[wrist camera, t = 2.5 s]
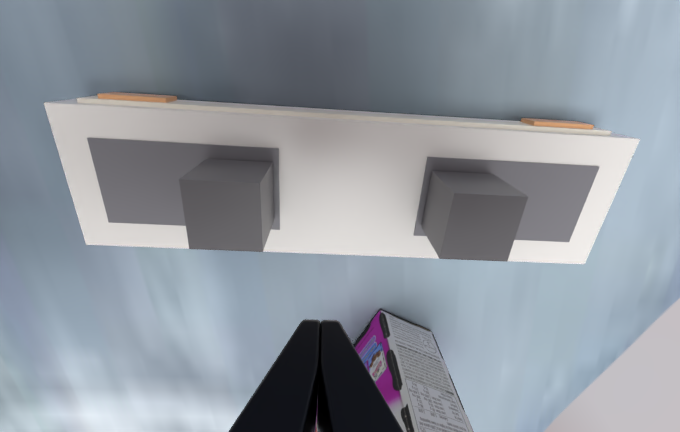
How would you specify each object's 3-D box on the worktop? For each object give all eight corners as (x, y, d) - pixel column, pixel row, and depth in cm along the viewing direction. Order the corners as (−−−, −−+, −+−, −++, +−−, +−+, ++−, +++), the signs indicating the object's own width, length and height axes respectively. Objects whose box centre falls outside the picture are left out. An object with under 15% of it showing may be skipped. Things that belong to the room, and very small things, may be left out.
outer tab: (478, 229, 17) (507, 261, 14) (421, 227, 17) (439, 258, 14) (493, 174, 16) (528, 196, 13) (432, 170, 15) (454, 193, 13)
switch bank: (551, 238, 21) (585, 265, 18) (120, 219, 20) (84, 245, 17) (596, 120, 18) (645, 130, 15) (88, 88, 16) (38, 92, 14)
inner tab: (273, 220, 16) (262, 251, 14) (212, 218, 16) (189, 248, 13) (272, 162, 15) (260, 183, 12) (206, 158, 15) (178, 179, 12)
